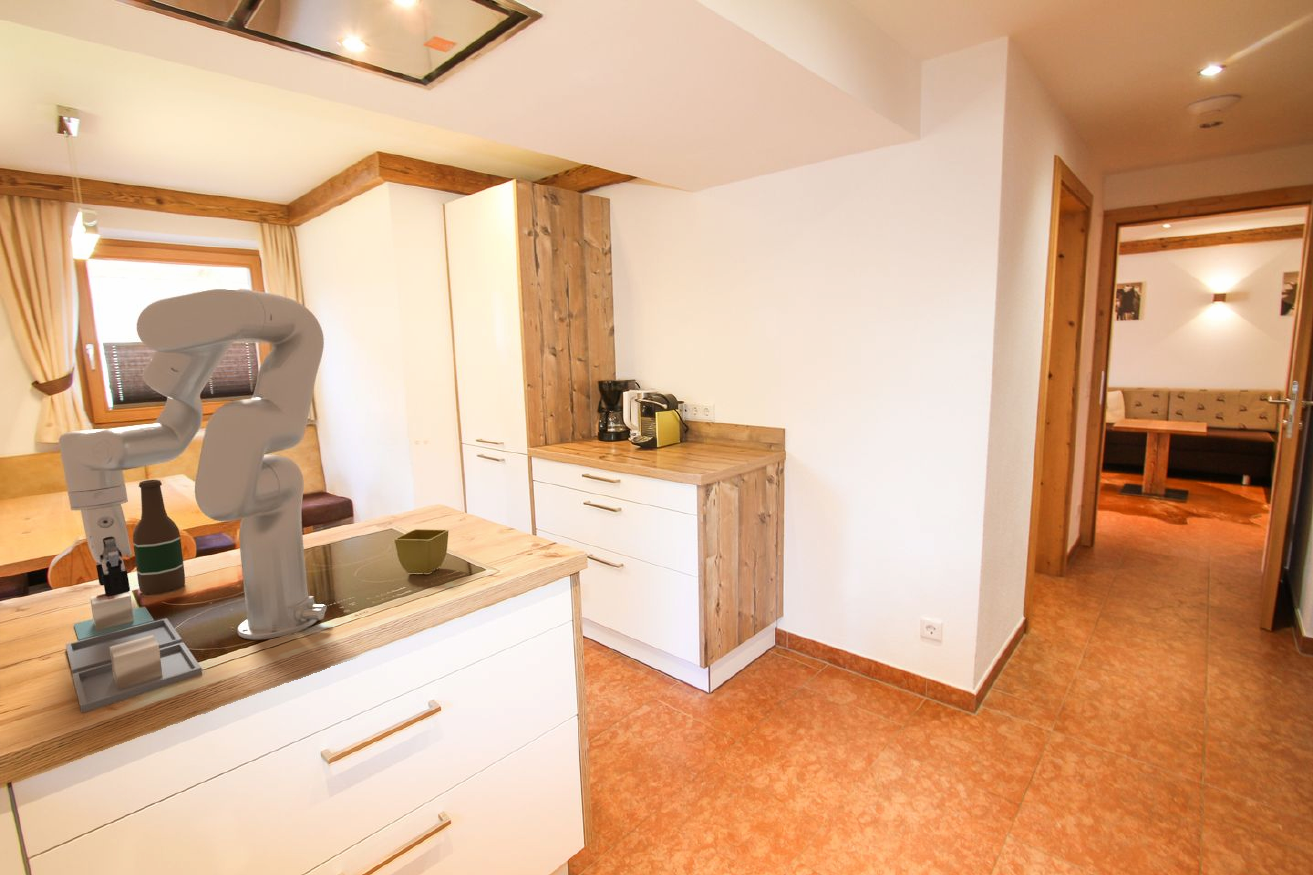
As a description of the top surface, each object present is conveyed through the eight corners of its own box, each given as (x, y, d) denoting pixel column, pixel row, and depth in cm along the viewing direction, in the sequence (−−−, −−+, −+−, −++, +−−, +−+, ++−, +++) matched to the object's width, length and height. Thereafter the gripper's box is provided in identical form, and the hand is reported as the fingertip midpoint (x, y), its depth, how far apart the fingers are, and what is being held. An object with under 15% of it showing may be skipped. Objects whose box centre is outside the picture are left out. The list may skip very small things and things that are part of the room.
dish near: (202, 676, 88) (201, 667, 88) (82, 715, 79) (80, 706, 78) (184, 649, 97) (183, 641, 97) (73, 682, 87) (72, 673, 87)
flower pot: (417, 564, 138) (415, 528, 137) (451, 565, 137) (449, 529, 136) (396, 577, 130) (393, 539, 129) (432, 579, 129) (429, 540, 128)
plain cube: (162, 675, 88) (158, 644, 87) (118, 689, 84) (113, 657, 84) (156, 665, 91) (152, 635, 91) (113, 677, 88) (109, 646, 87)
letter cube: (133, 621, 107) (130, 594, 106) (96, 630, 103) (92, 602, 103) (129, 614, 110) (126, 587, 110) (93, 622, 107) (90, 595, 106)
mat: (154, 624, 107) (154, 620, 107) (79, 643, 100) (78, 639, 100) (145, 610, 114) (145, 606, 114) (74, 627, 106) (73, 623, 106)
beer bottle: (158, 596, 121) (145, 484, 118) (129, 594, 123) (115, 483, 120) (195, 583, 129) (182, 477, 126) (167, 581, 130) (154, 476, 127)
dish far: (182, 646, 98) (181, 638, 98) (73, 678, 88) (72, 669, 88) (167, 625, 107) (166, 617, 107) (66, 651, 97) (65, 644, 97)
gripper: (133, 498, 101) (149, 591, 103) (120, 489, 113) (134, 573, 115) (73, 507, 96) (91, 606, 98) (65, 497, 107) (81, 585, 109)
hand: (114, 588), depth 106 cm, fingers open, 9 cm apart
